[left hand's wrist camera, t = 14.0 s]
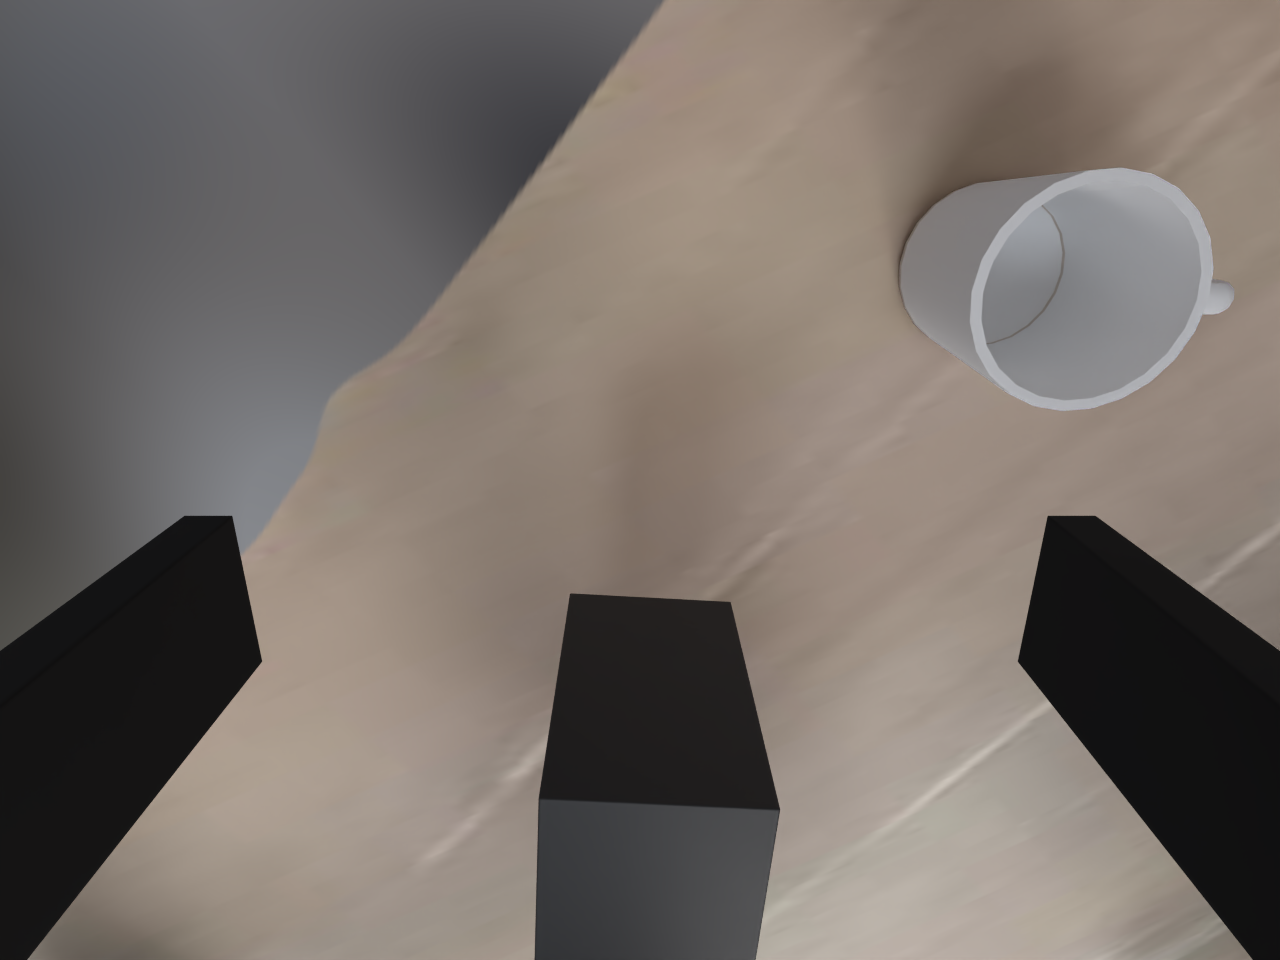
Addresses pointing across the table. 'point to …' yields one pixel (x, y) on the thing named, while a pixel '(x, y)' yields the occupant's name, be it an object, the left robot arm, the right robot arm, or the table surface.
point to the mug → (1063, 282)
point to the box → (653, 788)
